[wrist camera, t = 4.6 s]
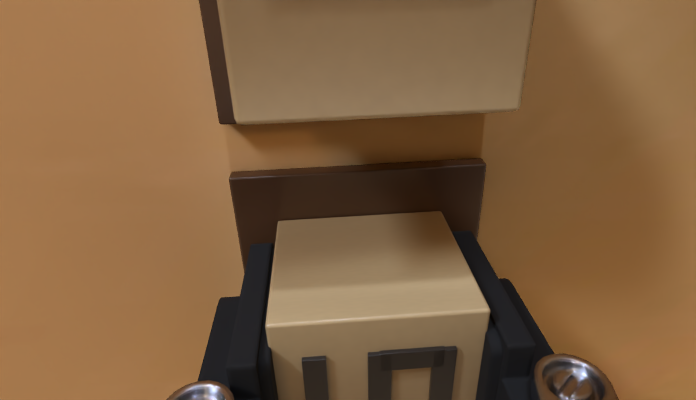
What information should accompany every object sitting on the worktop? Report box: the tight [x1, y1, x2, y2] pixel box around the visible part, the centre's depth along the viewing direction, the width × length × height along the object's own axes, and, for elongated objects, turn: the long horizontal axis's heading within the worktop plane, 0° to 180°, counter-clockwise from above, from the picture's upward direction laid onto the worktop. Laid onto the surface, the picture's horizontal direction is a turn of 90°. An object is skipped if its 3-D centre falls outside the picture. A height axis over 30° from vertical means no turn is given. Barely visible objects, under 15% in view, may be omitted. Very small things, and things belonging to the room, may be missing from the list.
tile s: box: [265, 211, 490, 400], centre depth 11 cm, size 4×4×4 cm
